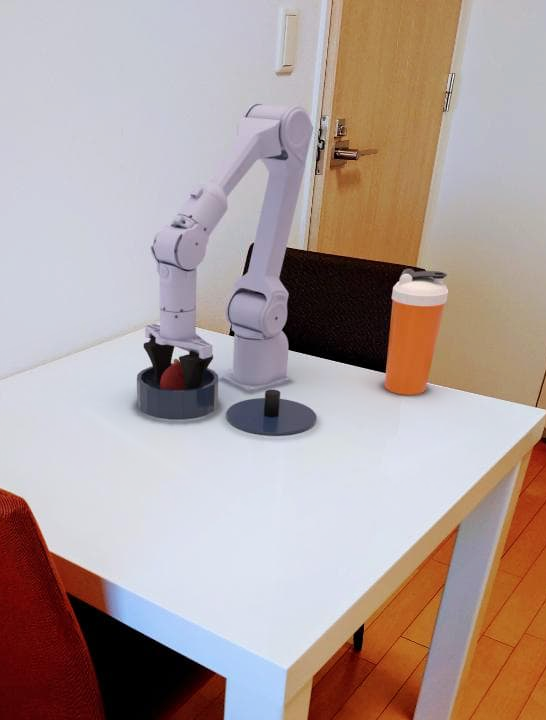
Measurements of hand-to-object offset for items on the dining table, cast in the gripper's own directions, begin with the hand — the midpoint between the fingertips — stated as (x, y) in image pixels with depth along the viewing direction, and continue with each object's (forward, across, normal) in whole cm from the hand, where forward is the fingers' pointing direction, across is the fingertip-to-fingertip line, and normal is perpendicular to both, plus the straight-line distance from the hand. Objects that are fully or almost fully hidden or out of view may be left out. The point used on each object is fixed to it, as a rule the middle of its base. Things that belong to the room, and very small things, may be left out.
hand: (177, 389), depth 134 cm
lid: (+2, +14, +8) cm, 16 cm away
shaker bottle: (+3, +19, +36) cm, 41 cm away
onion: (+3, 0, 0) cm, 3 cm away
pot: (+3, 0, 0) cm, 3 cm away
